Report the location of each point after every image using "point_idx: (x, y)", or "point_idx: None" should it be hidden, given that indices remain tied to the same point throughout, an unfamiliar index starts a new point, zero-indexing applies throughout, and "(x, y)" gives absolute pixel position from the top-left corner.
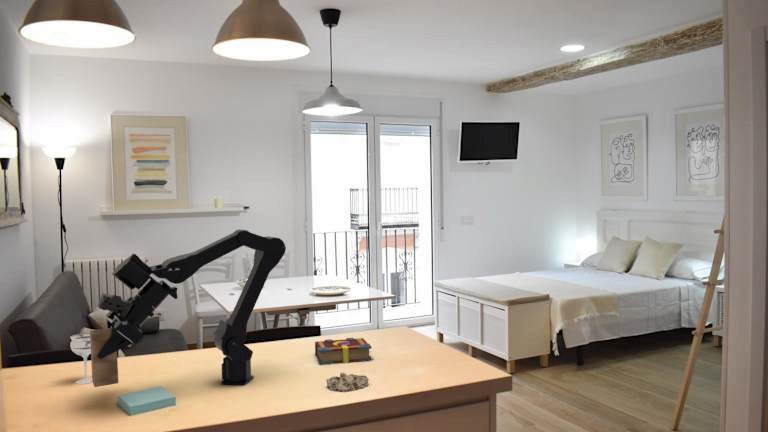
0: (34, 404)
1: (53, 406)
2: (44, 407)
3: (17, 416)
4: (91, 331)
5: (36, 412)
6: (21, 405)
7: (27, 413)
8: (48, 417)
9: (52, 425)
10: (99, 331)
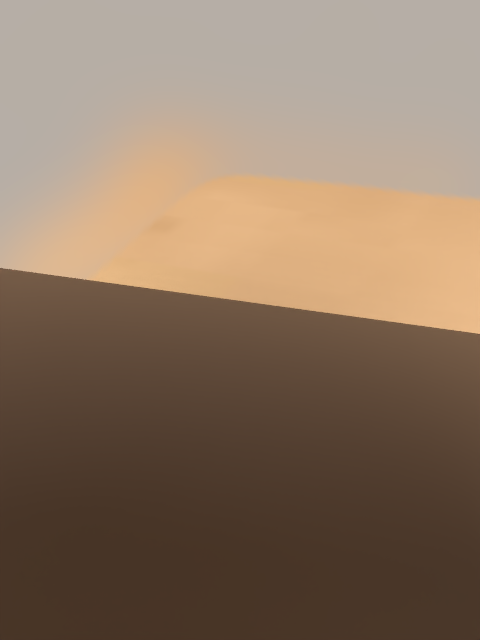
0: (430, 260)
1: (354, 314)
2: (363, 283)
3: (309, 193)
4: (411, 356)
5: (314, 249)
6: (445, 222)
7: (323, 223)
8: (215, 273)
9: (101, 267)
10: (188, 619)
